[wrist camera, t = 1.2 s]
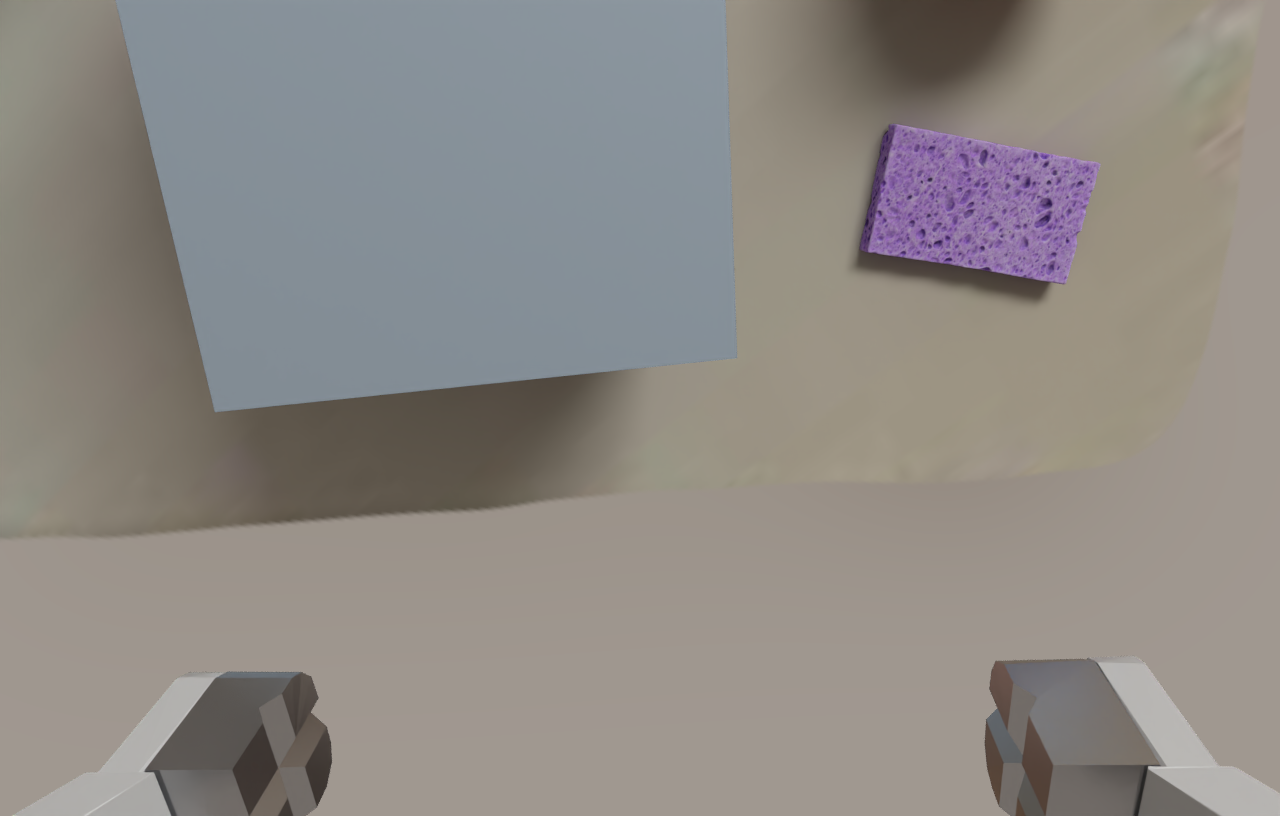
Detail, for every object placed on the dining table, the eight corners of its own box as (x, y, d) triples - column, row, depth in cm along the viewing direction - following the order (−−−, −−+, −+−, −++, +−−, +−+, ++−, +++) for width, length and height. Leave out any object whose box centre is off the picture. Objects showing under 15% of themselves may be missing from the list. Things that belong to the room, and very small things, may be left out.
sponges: (1047, 280, 51) (1065, 285, 50) (852, 249, 49) (864, 253, 47) (1083, 161, 49) (1104, 162, 48) (882, 122, 47) (896, 122, 45)
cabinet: (324, 306, 46) (210, 412, 29) (233, -171, 39) (11, -405, 22) (658, 276, 48) (737, 357, 31) (630, -185, 41) (711, -409, 24)
